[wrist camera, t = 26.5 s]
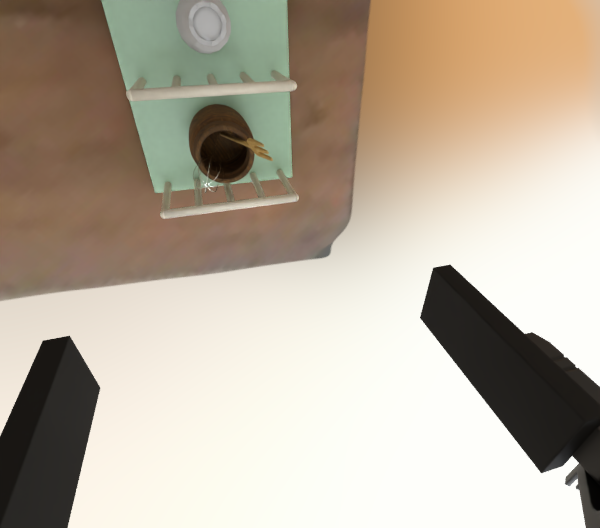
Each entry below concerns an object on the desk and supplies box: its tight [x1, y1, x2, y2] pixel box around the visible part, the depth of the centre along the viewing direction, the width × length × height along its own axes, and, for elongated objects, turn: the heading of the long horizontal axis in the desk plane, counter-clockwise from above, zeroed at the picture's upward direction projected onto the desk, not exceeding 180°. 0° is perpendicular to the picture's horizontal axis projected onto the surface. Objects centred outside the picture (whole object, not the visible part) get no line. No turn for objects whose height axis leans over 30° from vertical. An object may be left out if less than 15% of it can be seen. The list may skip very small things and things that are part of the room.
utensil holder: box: [189, 104, 273, 193], centre depth 30 cm, size 6×6×12 cm
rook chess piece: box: [176, 0, 231, 54], centre depth 26 cm, size 4×4×8 cm
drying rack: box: [101, 0, 299, 219], centre depth 30 cm, size 20×15×8 cm
